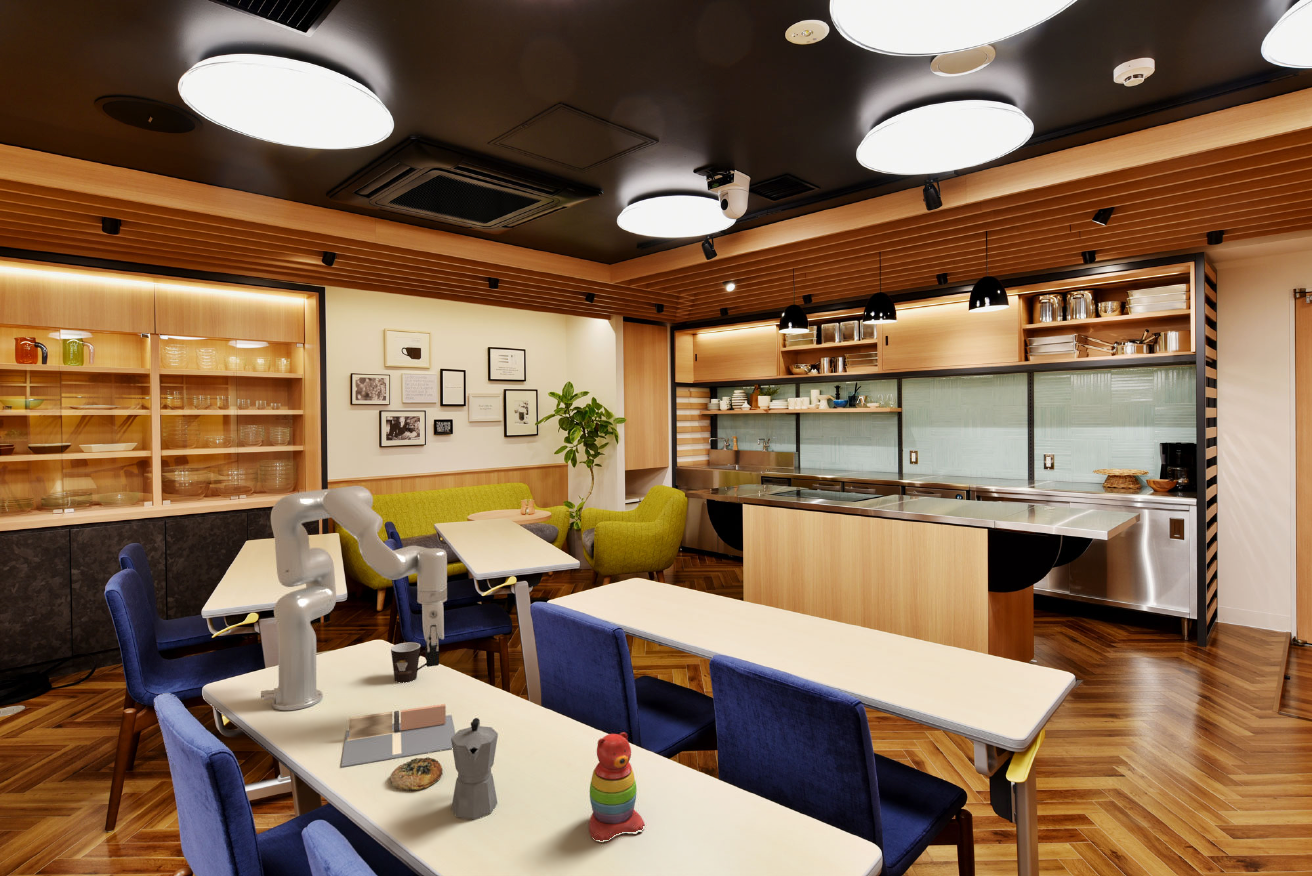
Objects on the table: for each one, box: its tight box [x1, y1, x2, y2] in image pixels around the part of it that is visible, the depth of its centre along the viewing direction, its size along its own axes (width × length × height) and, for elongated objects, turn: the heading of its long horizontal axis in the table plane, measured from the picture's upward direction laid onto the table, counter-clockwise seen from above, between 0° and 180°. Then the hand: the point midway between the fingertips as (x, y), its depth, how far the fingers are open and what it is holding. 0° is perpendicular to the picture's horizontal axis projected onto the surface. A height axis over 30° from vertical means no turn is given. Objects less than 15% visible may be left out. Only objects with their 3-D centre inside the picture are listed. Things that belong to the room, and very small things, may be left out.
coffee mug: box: [390, 642, 426, 684], centre depth 205 cm, size 12×9×10 cm
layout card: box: [340, 714, 456, 768], centre depth 166 cm, size 26×19×1 cm
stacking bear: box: [588, 732, 646, 841], centre depth 132 cm, size 11×10×18 cm
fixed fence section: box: [348, 710, 400, 740], centre depth 168 cm, size 12×1×5 cm, turn 112°
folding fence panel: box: [400, 703, 447, 731], centre depth 173 cm, size 11×1×5 cm, turn 112°
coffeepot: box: [451, 717, 499, 820], centre depth 139 cm, size 15×9×18 cm, turn 13°
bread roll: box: [390, 756, 443, 791], centre depth 148 cm, size 11×11×5 cm
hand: (432, 661), depth 178 cm, fingers open, 4 cm apart
